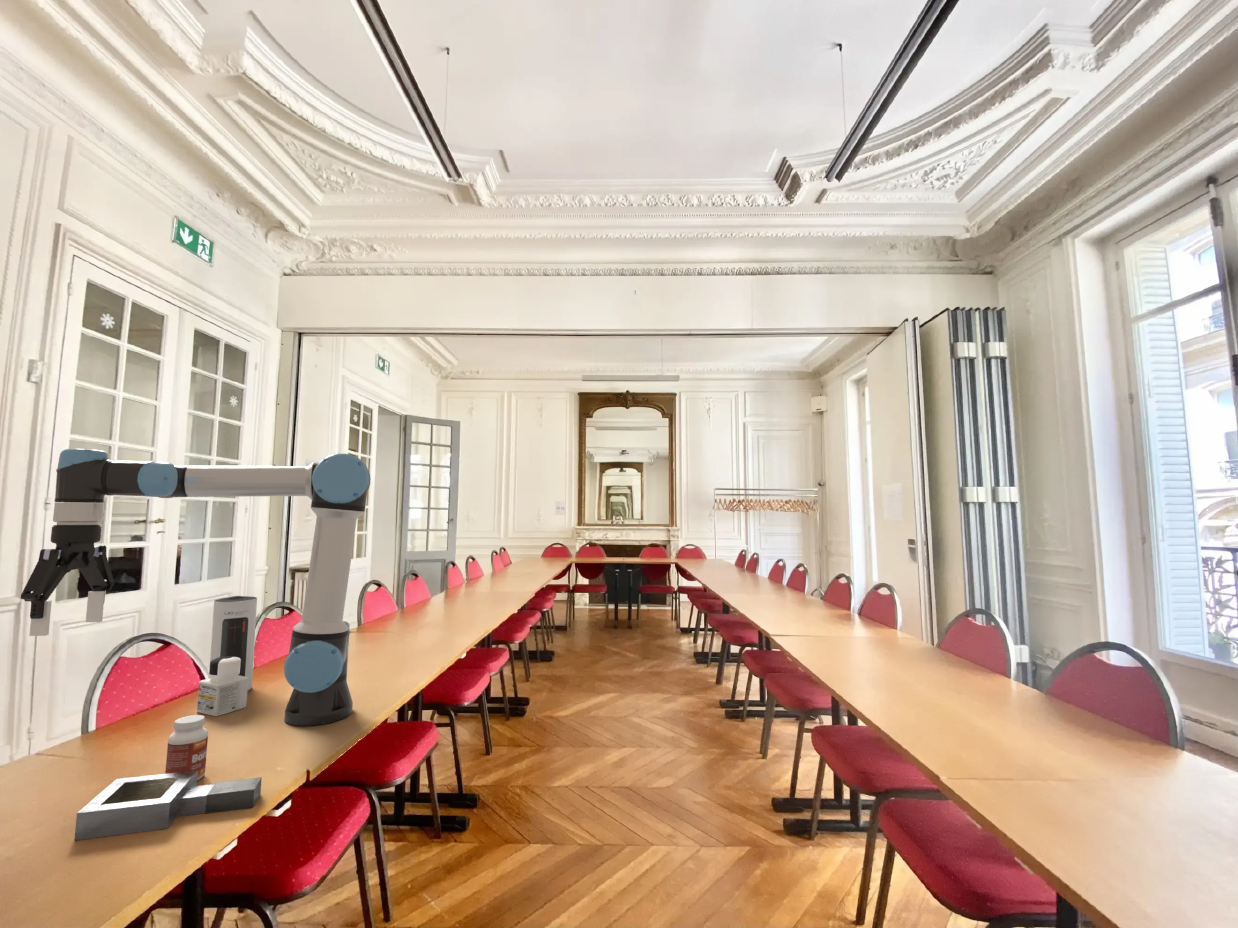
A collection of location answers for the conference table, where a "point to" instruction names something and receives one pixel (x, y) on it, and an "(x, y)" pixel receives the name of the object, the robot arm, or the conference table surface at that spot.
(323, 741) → the conference table surface
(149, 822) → the grey square pan
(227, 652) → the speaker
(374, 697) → the conference table surface
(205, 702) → the container
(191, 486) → the robot arm
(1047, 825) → the conference table surface
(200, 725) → the pill bottle
